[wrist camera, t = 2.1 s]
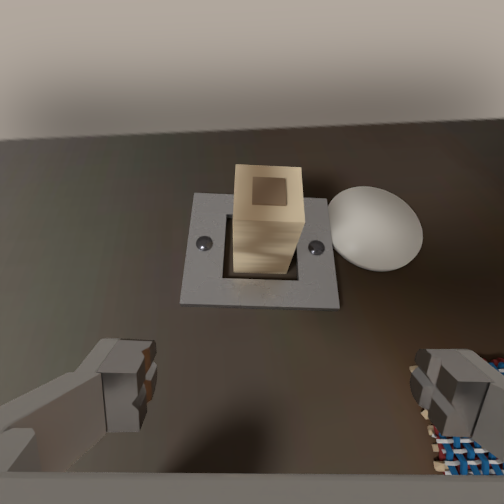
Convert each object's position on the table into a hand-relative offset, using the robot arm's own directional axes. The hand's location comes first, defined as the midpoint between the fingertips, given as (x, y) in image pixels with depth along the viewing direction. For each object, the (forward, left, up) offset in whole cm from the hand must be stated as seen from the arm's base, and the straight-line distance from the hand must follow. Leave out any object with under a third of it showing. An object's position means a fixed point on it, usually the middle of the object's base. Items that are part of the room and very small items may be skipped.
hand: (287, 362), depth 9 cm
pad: (-14, -13, -17) cm, 26 cm away
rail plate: (-2, -12, -17) cm, 21 cm away
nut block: (-2, -12, -17) cm, 21 cm away
